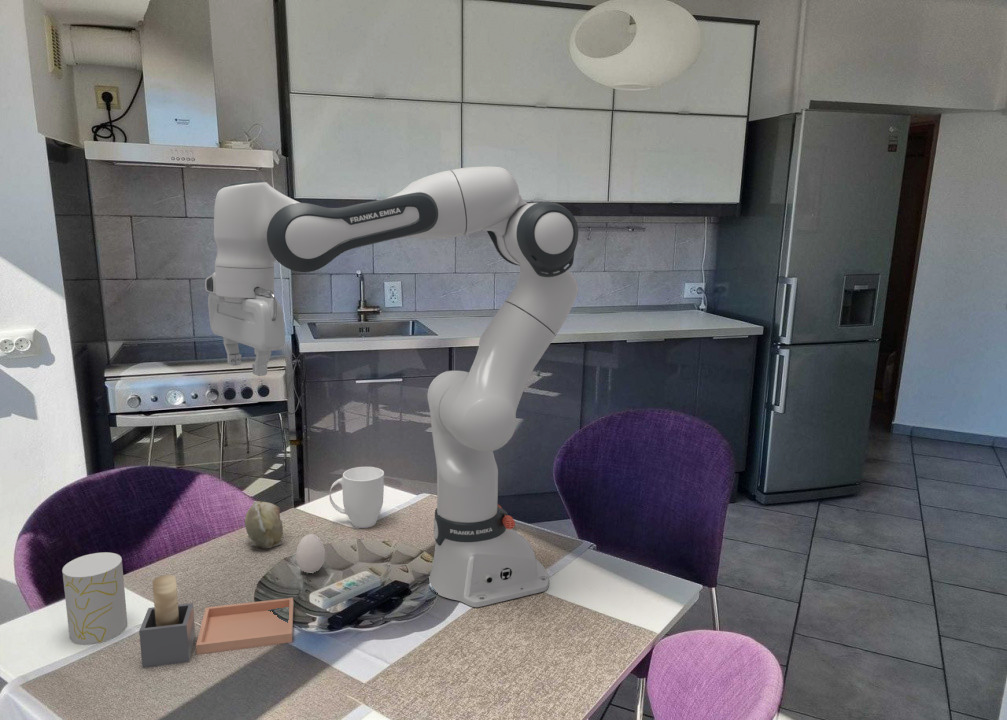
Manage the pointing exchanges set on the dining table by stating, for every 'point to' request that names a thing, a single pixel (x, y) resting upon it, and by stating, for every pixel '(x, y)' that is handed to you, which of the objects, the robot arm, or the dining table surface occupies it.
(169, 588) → the dowel
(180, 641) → the holder
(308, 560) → the egg
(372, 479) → the mug
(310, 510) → the dining table surface
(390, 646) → the dining table surface
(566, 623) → the dining table surface
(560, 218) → the robot arm
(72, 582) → the grey patterned cylinder
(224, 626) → the tray
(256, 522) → the olive grey rounded lump
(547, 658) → the dining table surface
